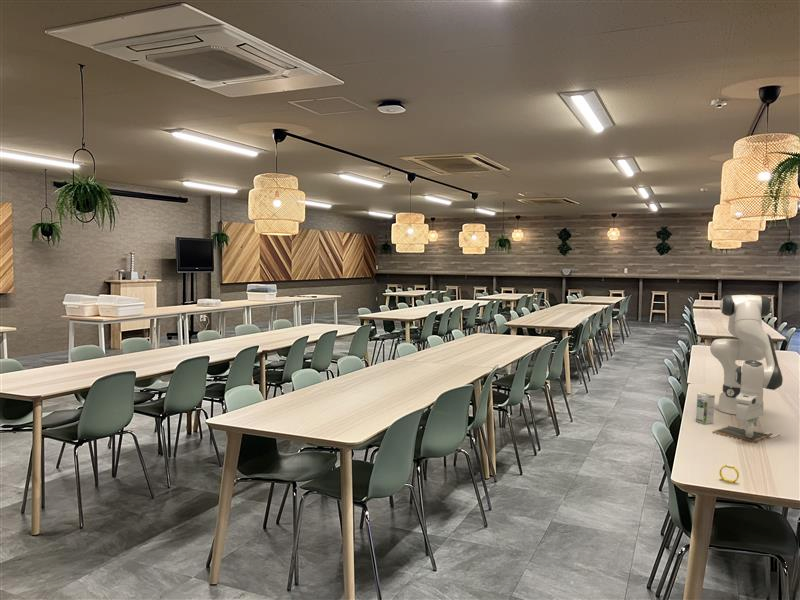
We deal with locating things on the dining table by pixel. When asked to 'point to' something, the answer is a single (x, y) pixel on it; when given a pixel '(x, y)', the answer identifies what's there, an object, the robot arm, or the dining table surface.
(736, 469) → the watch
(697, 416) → the syrup box
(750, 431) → the small white bottle
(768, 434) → the word card
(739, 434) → the brown slatted mat
